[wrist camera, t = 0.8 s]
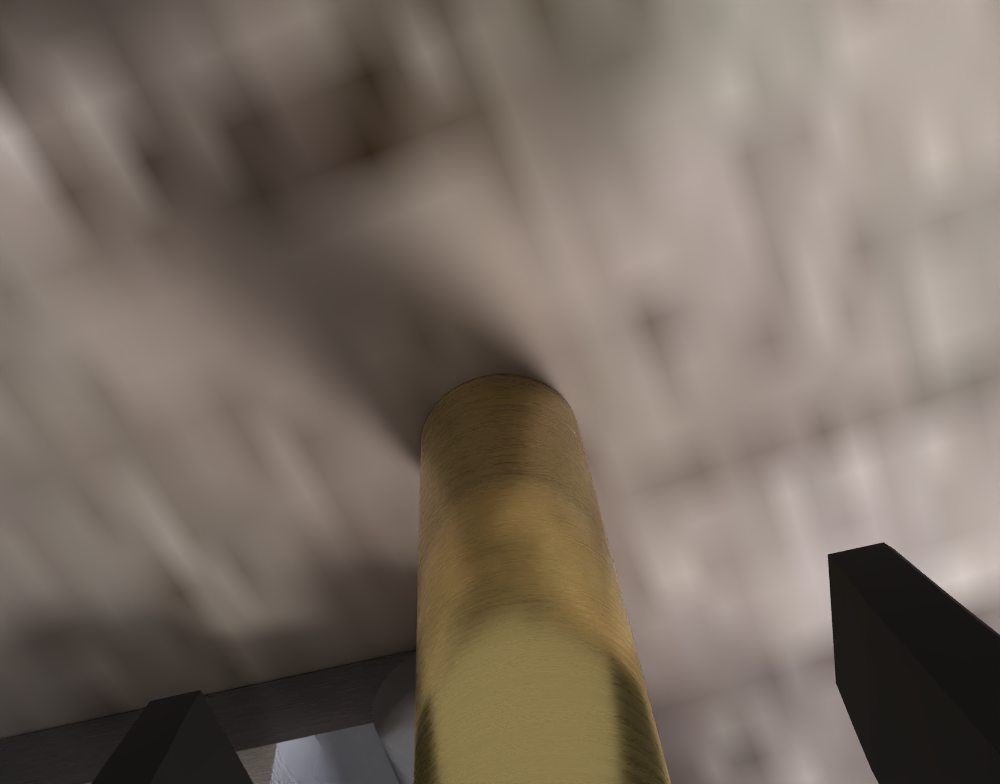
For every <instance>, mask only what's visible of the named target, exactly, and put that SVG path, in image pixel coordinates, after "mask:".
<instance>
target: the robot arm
mask: <svg viewBox="0 0 1000 784" xmlns="http://www.w3.org/2000/svg"><path fill="white" fill-rule="evenodd" d="M828 564H829V580H830V596H831V611H832V627H833V643H834V659H835V675H836V684H837V687H838V689H839V692H840V694H841V697H842V699H843V702H844V704H845V707H846V709H847V712H848V714H849V717H850V719H851V722H852V724H853V726H854V729H855V731H856V734H857V736H858V739H859V741H860V743H861V746H862V748H863V750H864V753H865V755H866V758H867V760H868V762H869V765H870V767H871V770H872V772H873V773H874V775H875V777H876V779H877V781H878V783H879V784H1000V635H999V634H998V633H997V632H996V631H994V630H993V629H992V628H990V627H989V626H988V625H987V624H985V623H984V622H983V621H981V620H980V619H979V618H978V617H976V616H975V615H974V614H973V613H971V612H970V611H969V610H968V609H966V608H965V607H964V606H963V605H961V604H960V603H959V602H957V601H956V600H955V599H954V598H953V597H951V596H950V595H949V594H948V593H946V592H945V591H944V590H943V589H941V588H940V587H939V586H938V585H937V584H935V583H934V582H933V581H932V580H930V579H929V578H928V577H927V576H926V575H924V574H923V573H922V572H921V571H920V570H918V569H917V568H916V567H915V566H914V565H912V564H911V563H910V562H909V561H908V560H906V559H905V558H904V557H903V556H902V555H900V554H899V553H898V552H897V551H896V550H894V549H893V548H891V547H890V546H888V545H887V544H885V543H879V544H874V545H869V546H865V547H860V548H856V549H851V550H846V551H842V552H837V553H832V554H828ZM91 784H254V783H253V782H252V780H251V778H250V776H249V774H248V773H247V771H246V769H245V767H244V766H243V764H242V762H241V760H240V759H239V757H238V755H237V753H236V751H235V750H234V748H233V746H232V744H231V743H230V741H229V739H228V737H227V735H226V734H225V732H224V730H223V728H222V727H221V725H220V723H219V721H218V719H217V718H216V716H215V714H214V712H213V711H212V709H211V707H210V705H209V703H208V702H207V700H206V698H205V696H204V695H203V693H202V691H201V690H199V691H195V692H190V693H186V694H181V695H176V696H172V697H167V698H162V699H158V700H153V701H150V702H149V704H148V705H147V706H146V708H145V709H144V710H143V712H142V713H141V714H140V716H139V717H138V718H137V720H136V721H135V723H134V724H133V725H132V727H131V728H130V729H129V731H128V732H127V734H126V735H125V737H124V738H123V739H122V741H121V742H120V744H119V745H118V746H117V748H116V749H115V751H114V752H113V753H112V755H111V756H110V758H109V759H108V761H107V762H106V763H105V765H104V766H103V768H102V769H101V771H100V772H99V773H98V775H97V776H96V778H95V779H94V780H93V782H92V783H91Z"/></svg>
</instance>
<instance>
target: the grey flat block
mask: <svg viewBox="0 0 1000 784" xmlns="http://www.w3.org/2000/svg"><path fill="white" fill-rule="evenodd" d="M415 684H416V650H415V651H410V652H405V653H401V654H396V655H391V656H387V657H382V658H378V659H373V660H368V661H364V662H359V663H354V664H350V665H345V666H340V667H336V668H331V669H326V670H322V671H317V672H313V673H308V674H303V675H299V676H294V677H289V678H285V679H280V680H275V681H271V682H266V683H262V684H257V685H252V686H248V687H243V688H238V689H234V690H229V691H224V692H220V693H215V694H211V695H206V696H205V698H206V700H207V702H208V703H209V705H210V707H211V709H212V711H213V712H214V714H215V716H216V718H217V719H218V721H219V723H220V725H221V727H222V728H223V730H224V732H225V734H226V735H227V737H228V739H229V741H230V743H231V744H232V746H233V748H234V750H235V751H236V752H238V751H242V750H247V749H252V748H257V747H261V746H266V745H271V744H276V743H278V745H279V747H280V749H281V751H282V753H283V755H284V757H285V759H286V761H287V763H288V765H289V767H290V768H291V770H292V772H293V774H294V776H295V778H296V780H297V782H298V784H413V772H414V728H415ZM143 710H144V709H141V710H136V711H132V712H127V713H122V714H118V715H113V716H109V717H104V718H99V719H95V720H90V721H85V722H81V723H76V724H71V725H67V726H62V727H57V728H53V729H48V730H44V731H39V732H34V733H30V734H25V735H20V736H16V737H11V738H6V739H2V740H0V784H86V783H91V782H93V780H94V779H95V778H96V776H97V775H98V773H99V772H100V771H101V769H102V768H103V766H104V765H105V763H106V762H107V761H108V759H109V758H110V756H111V755H112V753H113V752H114V751H115V749H116V748H117V746H118V745H119V744H120V742H121V741H122V739H123V738H124V737H125V735H126V734H127V732H128V731H129V729H130V728H131V727H132V725H133V724H134V723H135V721H136V720H137V718H138V717H139V716H140V714H141V713H142V712H143Z"/></svg>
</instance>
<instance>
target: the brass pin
mask: <svg viewBox="0 0 1000 784" xmlns="http://www.w3.org/2000/svg"><path fill="white" fill-rule="evenodd" d="M413 784H671V782H670V778H669V774H668V770H667V766H666V763H665V759H664V755H663V751H662V747H661V743H660V739H659V736H658V732H657V728H656V724H655V720H654V716H653V712H652V709H651V705H650V701H649V697H648V693H647V689H646V685H645V682H644V678H643V674H642V670H641V666H640V662H639V658H638V655H637V651H636V647H635V643H634V639H633V635H632V631H631V628H630V624H629V620H628V616H627V612H626V608H625V604H624V601H623V597H622V593H621V589H620V585H619V581H618V577H617V573H616V570H615V566H614V562H613V558H612V554H611V550H610V546H609V543H608V539H607V535H606V531H605V527H604V523H603V519H602V516H601V512H600V508H599V504H598V500H597V496H596V492H595V489H594V485H593V481H592V477H591V473H590V469H589V465H588V462H587V458H586V454H585V450H584V446H583V442H582V438H581V435H580V431H579V427H578V424H577V420H576V417H575V415H574V413H573V411H572V409H571V408H570V407H569V405H568V404H567V402H566V401H565V400H564V399H563V398H562V397H561V396H560V395H559V394H558V393H557V392H555V391H554V390H553V389H551V388H550V387H548V386H546V385H545V384H543V383H540V382H538V381H536V380H533V379H530V378H527V377H522V376H517V375H505V374H503V375H490V376H485V377H480V378H477V379H473V380H471V381H468V382H466V383H464V384H461V385H460V386H458V387H456V388H454V389H453V390H452V391H450V392H449V393H448V394H446V395H445V396H444V397H443V398H442V399H441V400H440V401H439V402H438V403H437V404H436V405H435V407H434V408H433V409H432V411H431V412H430V414H429V416H428V418H427V420H426V422H425V425H424V428H423V432H422V437H421V465H420V509H419V553H418V597H417V640H416V684H415V728H414V772H413Z"/></svg>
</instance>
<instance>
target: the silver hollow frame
mask: <svg viewBox="0 0 1000 784" xmlns="http://www.w3.org/2000/svg"><path fill="white" fill-rule="evenodd" d="M236 753H237V755H238V757H239V759H240V760H241V762H242V764H243V766H244V767H245V769H246V771H247V773H248V774H249V776H250V778H251V780H252V782H253V783H254V784H298V782H297V780H296V778H295V776H294V774H293V772H292V770H291V768H290V767H289V765H288V763H287V761H286V759H285V757H284V755H283V753H282V751H281V749H280V747H279V745H278V743H276V744H271V745H266V746H261V747H257V748H252V749H247V750H242V751H238V752H236ZM91 783H92V782H91ZM91 783H86V784H91Z"/></svg>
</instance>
